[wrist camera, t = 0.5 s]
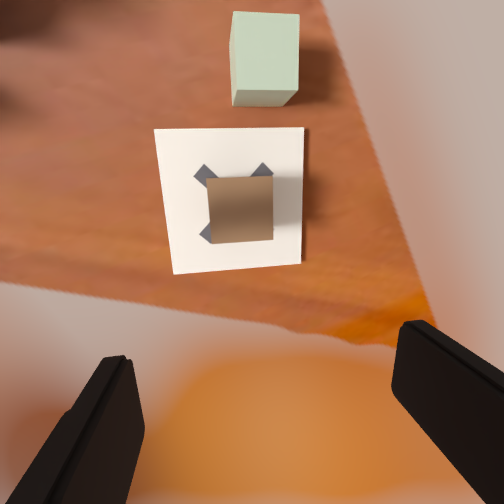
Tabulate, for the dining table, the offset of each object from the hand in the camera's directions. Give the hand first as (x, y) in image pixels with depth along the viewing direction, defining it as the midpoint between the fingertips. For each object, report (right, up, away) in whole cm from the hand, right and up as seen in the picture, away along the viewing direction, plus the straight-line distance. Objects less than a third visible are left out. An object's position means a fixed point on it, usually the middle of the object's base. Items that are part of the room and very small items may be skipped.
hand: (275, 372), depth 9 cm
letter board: (-3, +10, +21) cm, 23 cm away
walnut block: (-3, +10, +20) cm, 23 cm away
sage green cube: (0, +23, +18) cm, 29 cm away
